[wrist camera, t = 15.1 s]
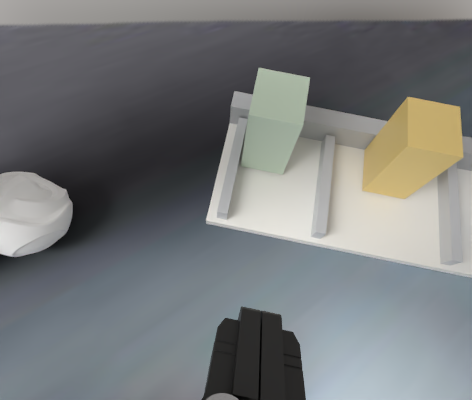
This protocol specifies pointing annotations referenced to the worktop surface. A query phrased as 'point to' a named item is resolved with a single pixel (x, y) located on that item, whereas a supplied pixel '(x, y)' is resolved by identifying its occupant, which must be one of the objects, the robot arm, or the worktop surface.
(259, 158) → the pale green block
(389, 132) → the yellow rectangular block
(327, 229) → the white divided tray
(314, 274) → the worktop surface
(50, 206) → the crumpled paper ball
